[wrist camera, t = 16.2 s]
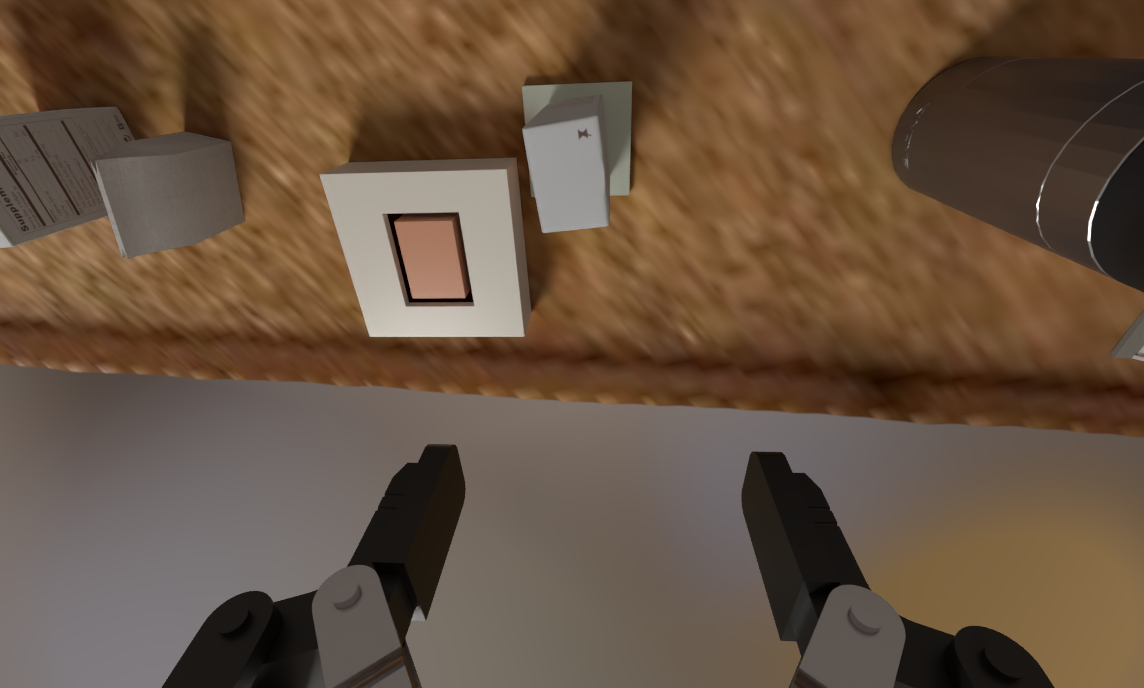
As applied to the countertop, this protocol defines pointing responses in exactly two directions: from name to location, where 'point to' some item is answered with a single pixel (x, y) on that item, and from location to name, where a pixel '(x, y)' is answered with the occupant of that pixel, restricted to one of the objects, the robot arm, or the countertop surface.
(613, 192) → the mat
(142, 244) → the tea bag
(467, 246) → the frame
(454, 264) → the button
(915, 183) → the robot arm
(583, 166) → the skincare box
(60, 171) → the supplement box
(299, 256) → the countertop surface
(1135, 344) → the skyscraper
